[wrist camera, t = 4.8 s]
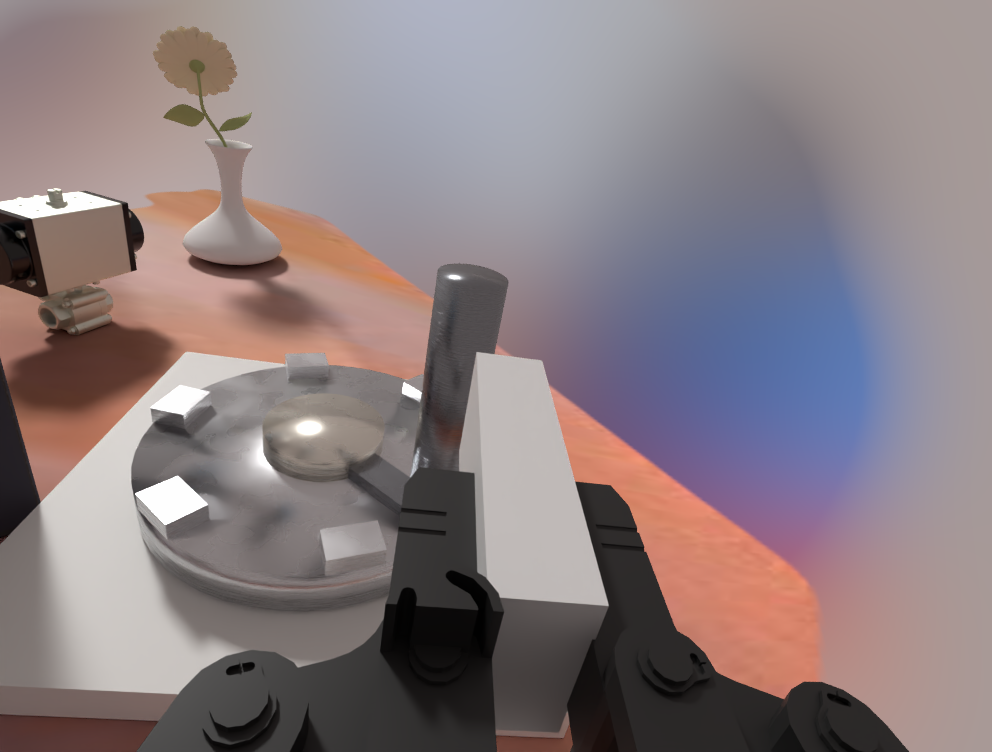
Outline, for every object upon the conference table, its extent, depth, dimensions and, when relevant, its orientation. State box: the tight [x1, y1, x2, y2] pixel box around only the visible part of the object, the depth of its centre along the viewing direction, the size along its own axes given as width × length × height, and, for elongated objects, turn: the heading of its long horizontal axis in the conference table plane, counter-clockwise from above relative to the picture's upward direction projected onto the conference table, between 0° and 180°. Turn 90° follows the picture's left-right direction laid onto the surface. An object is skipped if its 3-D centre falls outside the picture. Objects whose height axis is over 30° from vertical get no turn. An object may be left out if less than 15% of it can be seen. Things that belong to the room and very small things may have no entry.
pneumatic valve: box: [0, 189, 144, 335], centre depth 47 cm, size 6×12×12 cm, turn 162°
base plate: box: [0, 352, 570, 738], centre depth 36 cm, size 28×28×2 cm
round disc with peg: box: [131, 264, 508, 611], centre depth 31 cm, size 20×20×16 cm
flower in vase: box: [153, 26, 282, 265], centre depth 65 cm, size 13×11×25 cm
